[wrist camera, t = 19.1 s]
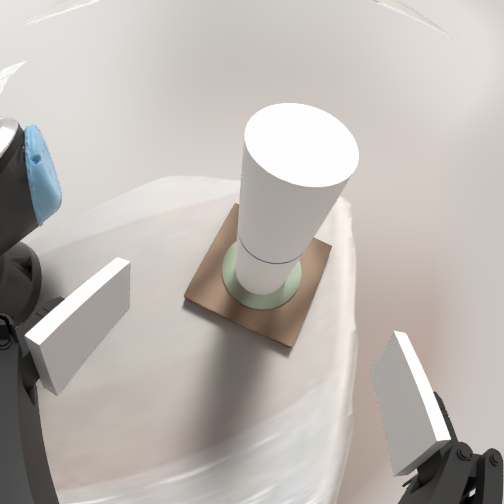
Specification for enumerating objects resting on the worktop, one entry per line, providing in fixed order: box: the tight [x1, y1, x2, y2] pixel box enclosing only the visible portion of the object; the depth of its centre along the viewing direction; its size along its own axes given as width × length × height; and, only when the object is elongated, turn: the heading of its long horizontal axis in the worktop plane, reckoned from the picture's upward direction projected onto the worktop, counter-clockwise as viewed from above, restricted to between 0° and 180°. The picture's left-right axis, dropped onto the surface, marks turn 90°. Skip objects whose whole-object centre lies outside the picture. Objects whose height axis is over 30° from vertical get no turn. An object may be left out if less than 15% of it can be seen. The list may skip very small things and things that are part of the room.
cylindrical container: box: [235, 103, 359, 295], centre depth 28 cm, size 7×7×25 cm
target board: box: [184, 203, 332, 347], centre depth 40 cm, size 16×16×2 cm
